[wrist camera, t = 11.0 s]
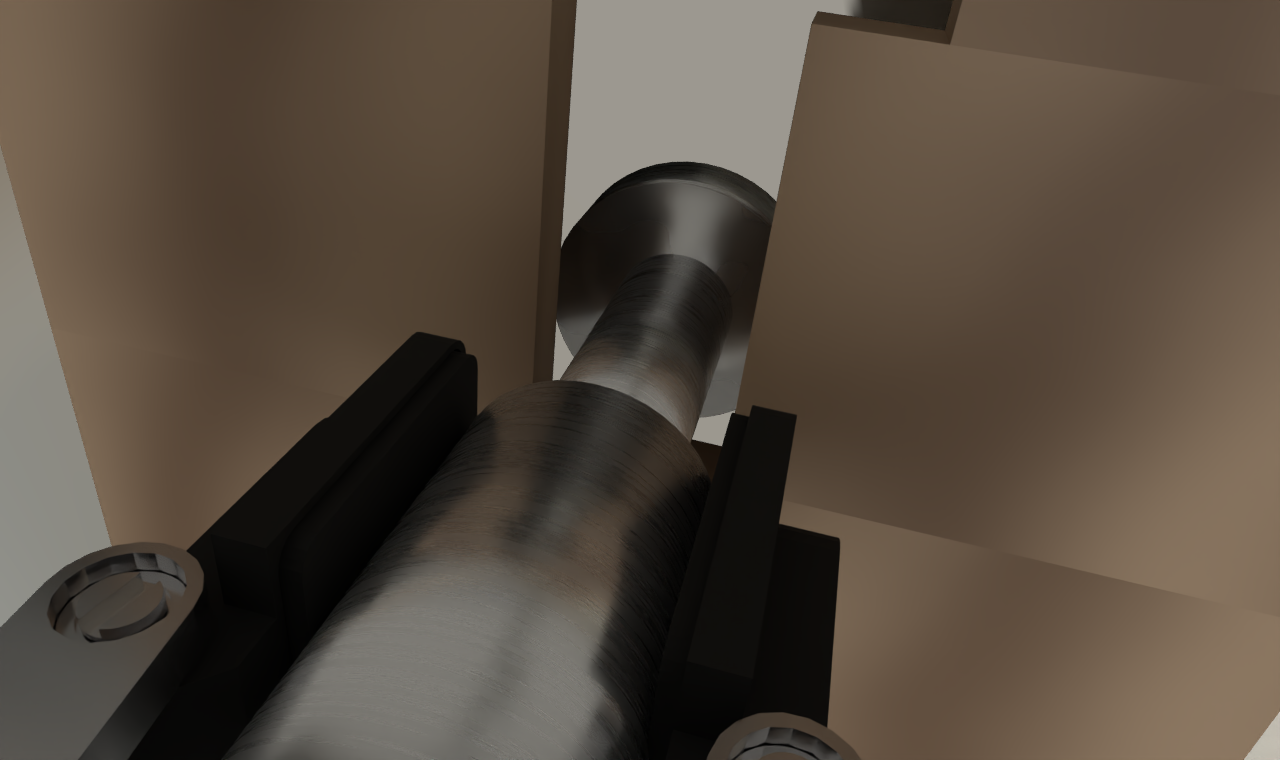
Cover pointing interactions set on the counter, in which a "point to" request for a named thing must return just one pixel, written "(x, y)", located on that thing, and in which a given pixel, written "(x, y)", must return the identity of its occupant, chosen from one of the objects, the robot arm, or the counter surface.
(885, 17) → the counter surface
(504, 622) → the keyhole bolt
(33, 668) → the robot arm
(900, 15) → the counter surface
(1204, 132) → the keyhole plate
